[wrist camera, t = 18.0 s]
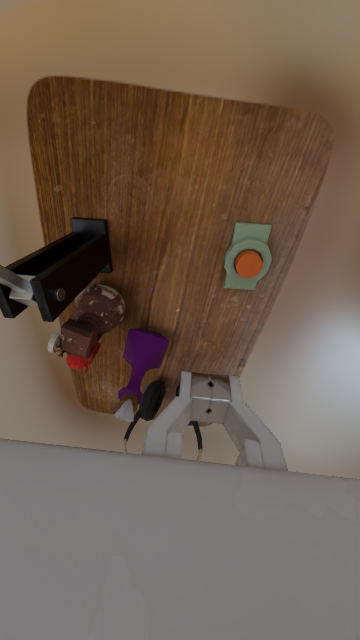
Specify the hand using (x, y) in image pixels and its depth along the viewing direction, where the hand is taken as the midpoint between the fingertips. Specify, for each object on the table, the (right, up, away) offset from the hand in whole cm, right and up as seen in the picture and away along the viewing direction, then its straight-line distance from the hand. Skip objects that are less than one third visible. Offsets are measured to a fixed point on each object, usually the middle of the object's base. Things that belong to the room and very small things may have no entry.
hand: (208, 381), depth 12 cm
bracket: (-15, +15, +24) cm, 32 cm away
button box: (+9, +13, +23) cm, 28 cm away
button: (+8, +12, +21) cm, 26 cm away
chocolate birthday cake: (-15, +7, +30) cm, 34 cm away
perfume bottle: (-8, 0, +34) cm, 35 cm away
